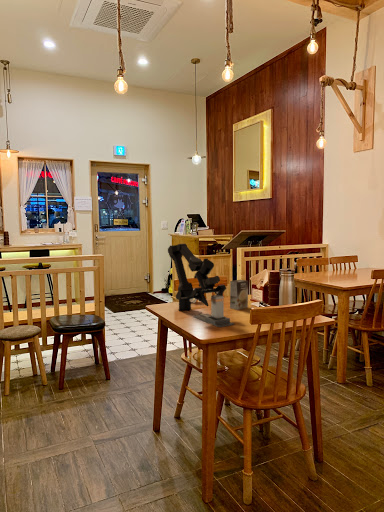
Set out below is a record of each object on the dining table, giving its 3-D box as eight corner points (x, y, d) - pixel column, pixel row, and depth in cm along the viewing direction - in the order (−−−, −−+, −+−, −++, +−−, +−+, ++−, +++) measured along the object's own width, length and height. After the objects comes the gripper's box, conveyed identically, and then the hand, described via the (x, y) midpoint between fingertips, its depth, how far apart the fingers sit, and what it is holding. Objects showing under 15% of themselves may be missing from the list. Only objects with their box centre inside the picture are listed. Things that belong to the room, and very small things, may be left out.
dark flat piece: (193, 316, 200) (193, 312, 200) (207, 314, 204) (207, 310, 204) (219, 327, 179) (219, 322, 179) (234, 324, 184) (234, 319, 184)
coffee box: (237, 310, 214) (238, 282, 213) (229, 308, 219) (229, 281, 218) (248, 307, 220) (248, 280, 219) (240, 305, 225) (240, 279, 224)
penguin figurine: (197, 289, 232) (178, 291, 234) (198, 303, 233) (179, 304, 234) (198, 287, 238) (179, 289, 240) (199, 300, 239) (181, 302, 241)
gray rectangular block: (211, 320, 189) (210, 295, 188) (218, 319, 192) (218, 294, 190) (216, 323, 185) (216, 297, 184) (223, 321, 188) (223, 296, 186)
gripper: (194, 272, 187) (206, 297, 179) (224, 269, 197) (237, 293, 188) (186, 285, 194) (197, 310, 186) (215, 281, 204) (227, 305, 196)
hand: (215, 304), depth 189 cm, fingers open, 9 cm apart
